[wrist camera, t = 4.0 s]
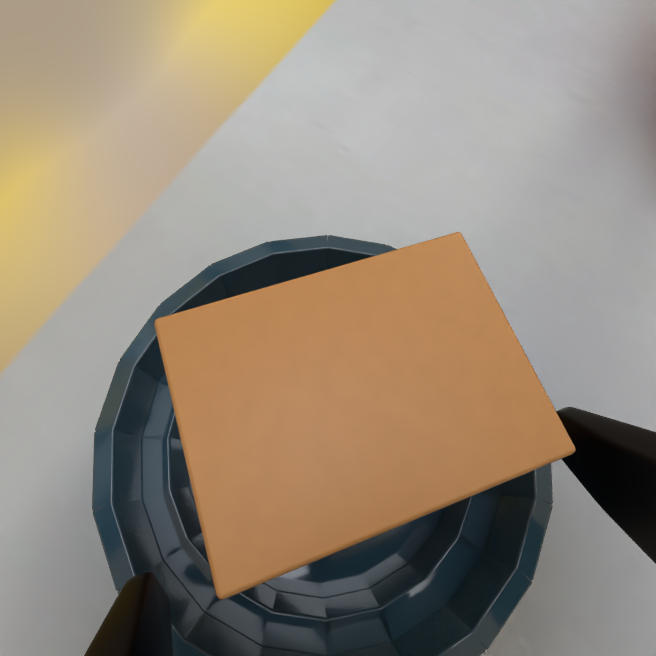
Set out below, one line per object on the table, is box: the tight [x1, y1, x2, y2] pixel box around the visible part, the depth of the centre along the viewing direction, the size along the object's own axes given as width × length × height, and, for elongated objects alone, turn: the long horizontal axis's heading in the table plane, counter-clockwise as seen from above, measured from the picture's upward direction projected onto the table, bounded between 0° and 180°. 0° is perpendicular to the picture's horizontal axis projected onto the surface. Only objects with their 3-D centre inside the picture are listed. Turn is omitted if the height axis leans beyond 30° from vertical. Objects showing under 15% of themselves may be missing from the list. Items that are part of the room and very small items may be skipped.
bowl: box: [92, 235, 553, 656], centre depth 15 cm, size 14×14×6 cm
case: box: [154, 232, 576, 599], centre depth 11 cm, size 4×6×12 cm
